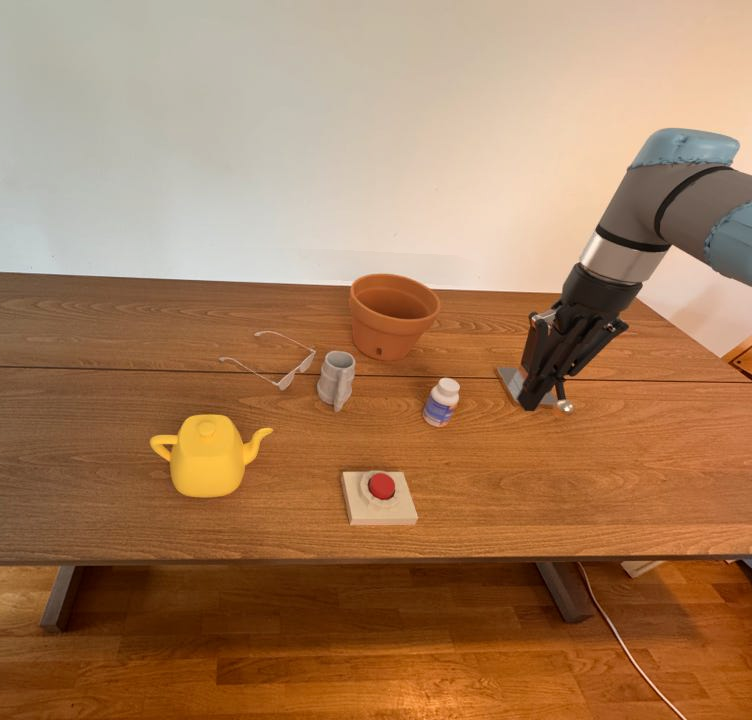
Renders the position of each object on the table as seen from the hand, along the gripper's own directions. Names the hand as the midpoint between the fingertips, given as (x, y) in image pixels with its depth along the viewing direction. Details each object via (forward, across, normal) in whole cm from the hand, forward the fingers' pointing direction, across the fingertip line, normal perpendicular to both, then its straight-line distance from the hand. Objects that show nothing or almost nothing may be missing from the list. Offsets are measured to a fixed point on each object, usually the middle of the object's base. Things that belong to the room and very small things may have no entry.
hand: (525, 404), depth 67 cm
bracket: (+19, -20, -24) cm, 36 cm away
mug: (+19, +25, -18) cm, 37 cm away
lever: (+11, -20, -18) cm, 29 cm away
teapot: (+19, +50, +1) cm, 53 cm away
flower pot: (+19, +10, -40) cm, 45 cm away
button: (+15, +21, +6) cm, 27 cm away
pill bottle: (+19, +4, -14) cm, 24 cm away
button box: (+18, +21, +6) cm, 29 cm away
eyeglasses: (+19, +40, -31) cm, 54 cm away
